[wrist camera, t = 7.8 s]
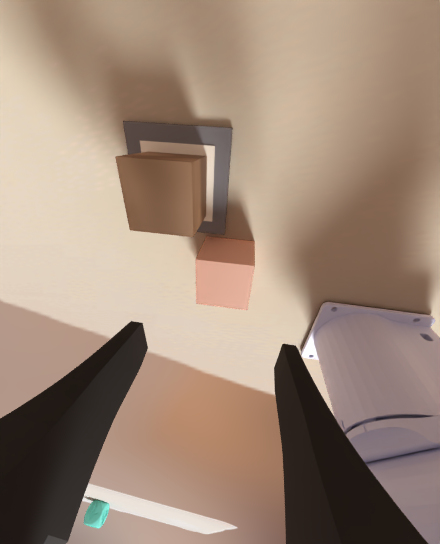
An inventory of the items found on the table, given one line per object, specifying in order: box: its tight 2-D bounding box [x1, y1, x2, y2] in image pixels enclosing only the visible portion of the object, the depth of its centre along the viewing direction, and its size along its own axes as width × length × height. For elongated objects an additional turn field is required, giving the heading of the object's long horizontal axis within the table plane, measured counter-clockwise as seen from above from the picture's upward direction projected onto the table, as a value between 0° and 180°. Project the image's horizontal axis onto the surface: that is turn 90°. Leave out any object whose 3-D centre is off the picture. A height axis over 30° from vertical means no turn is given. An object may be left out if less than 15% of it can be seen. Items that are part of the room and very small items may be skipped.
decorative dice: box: [84, 500, 109, 528], centre depth 104 cm, size 8×8×8 cm
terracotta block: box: [196, 236, 255, 310], centre depth 17 cm, size 4×4×4 cm
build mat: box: [123, 121, 232, 235], centre depth 15 cm, size 7×7×1 cm
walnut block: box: [116, 152, 207, 237], centre depth 13 cm, size 4×4×4 cm
